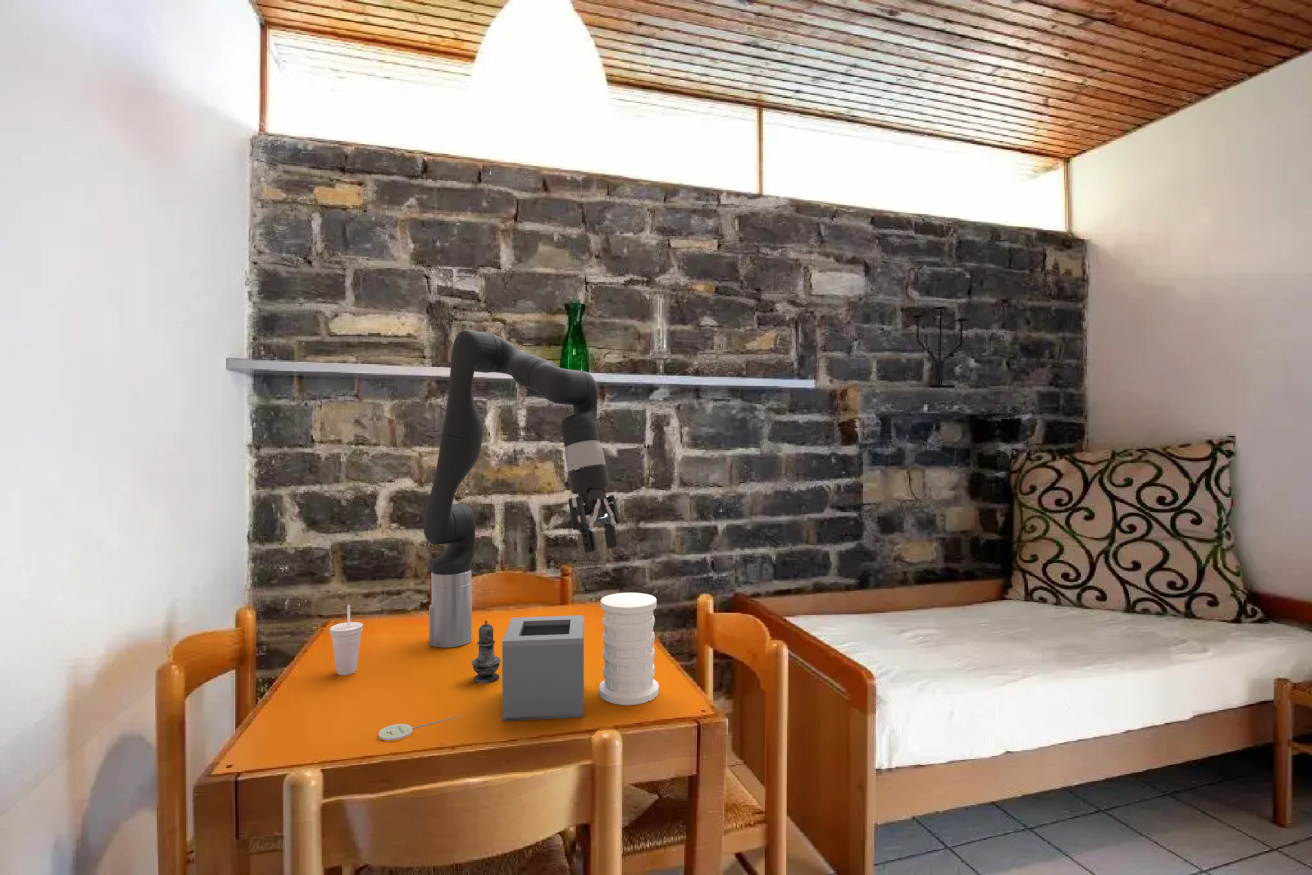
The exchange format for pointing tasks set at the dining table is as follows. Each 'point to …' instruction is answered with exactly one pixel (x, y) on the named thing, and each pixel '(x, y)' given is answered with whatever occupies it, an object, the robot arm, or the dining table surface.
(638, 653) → the decorative container
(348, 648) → the smoothie
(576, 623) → the box
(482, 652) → the salt shaker
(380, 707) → the dining table surface
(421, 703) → the dining table surface
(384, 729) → the sign
